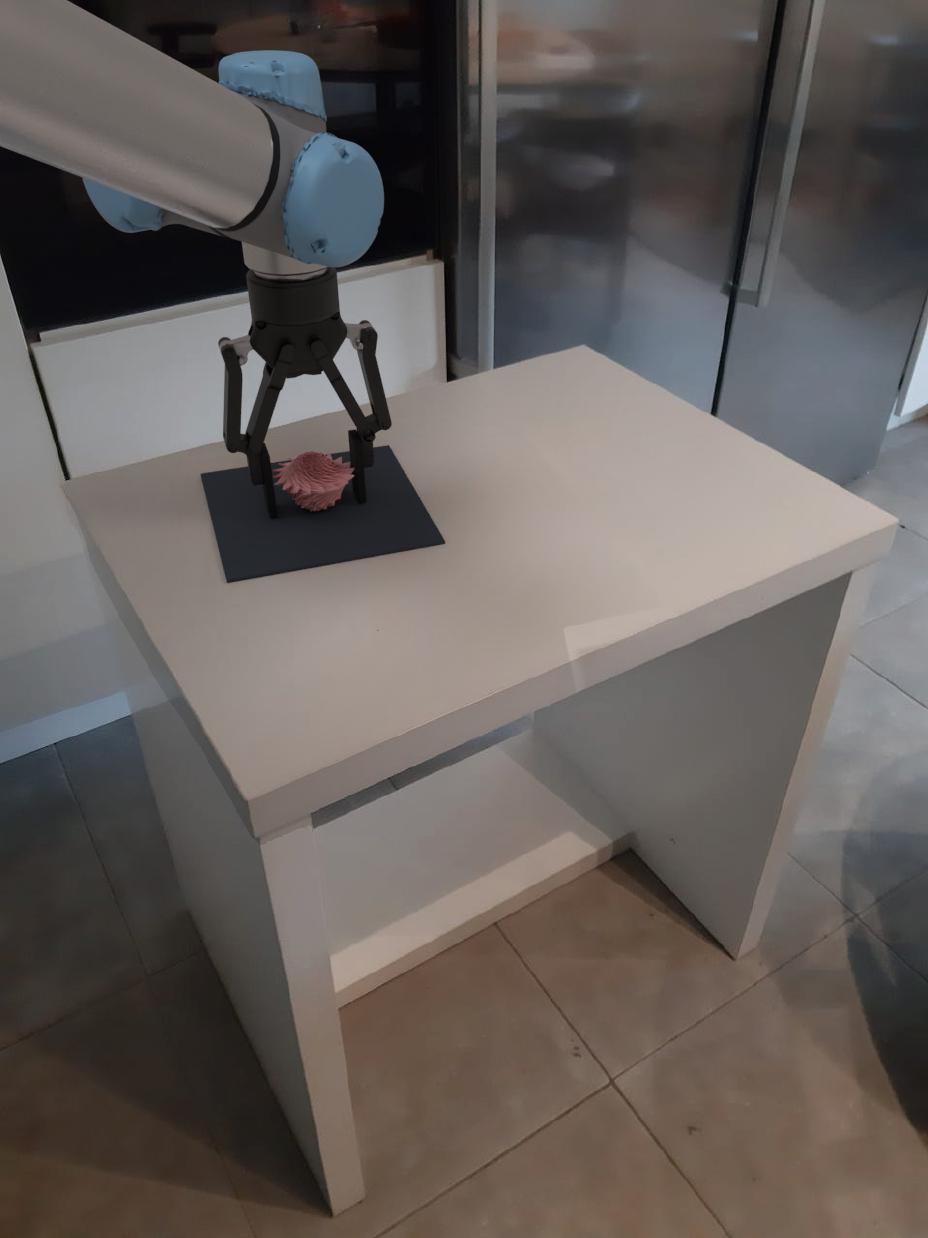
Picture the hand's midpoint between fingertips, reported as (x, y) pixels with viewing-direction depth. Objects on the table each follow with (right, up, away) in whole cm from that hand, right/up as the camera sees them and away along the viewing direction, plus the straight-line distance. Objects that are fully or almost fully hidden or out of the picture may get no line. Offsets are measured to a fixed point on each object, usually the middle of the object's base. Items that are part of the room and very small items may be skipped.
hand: (316, 502), depth 95 cm
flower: (0, 0, 0) cm, 0 cm away
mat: (0, 0, 0) cm, 1 cm away
